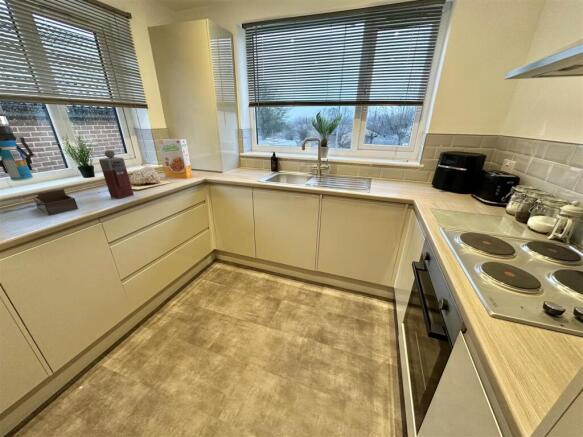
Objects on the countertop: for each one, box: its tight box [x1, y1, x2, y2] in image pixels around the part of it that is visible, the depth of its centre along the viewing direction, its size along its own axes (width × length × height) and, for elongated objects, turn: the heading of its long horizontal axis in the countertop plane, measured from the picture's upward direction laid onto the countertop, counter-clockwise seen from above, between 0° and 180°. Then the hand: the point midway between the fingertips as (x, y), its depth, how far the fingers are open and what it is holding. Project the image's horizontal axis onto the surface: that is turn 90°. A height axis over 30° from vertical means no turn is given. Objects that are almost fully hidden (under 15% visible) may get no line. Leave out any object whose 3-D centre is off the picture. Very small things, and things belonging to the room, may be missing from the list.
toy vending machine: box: [98, 149, 135, 200], centre depth 144 cm, size 9×11×28 cm
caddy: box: [32, 188, 79, 216], centre depth 129 cm, size 23×12×10 cm, turn 55°
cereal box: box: [157, 138, 193, 180], centre depth 194 cm, size 22×6×30 cm, turn 72°
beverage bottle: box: [0, 140, 34, 182], centre depth 124 cm, size 8×8×20 cm
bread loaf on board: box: [129, 166, 172, 190], centre depth 174 cm, size 28×22×16 cm
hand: (19, 171), depth 127 cm, fingers closed on beverage bottle, 8 cm apart
